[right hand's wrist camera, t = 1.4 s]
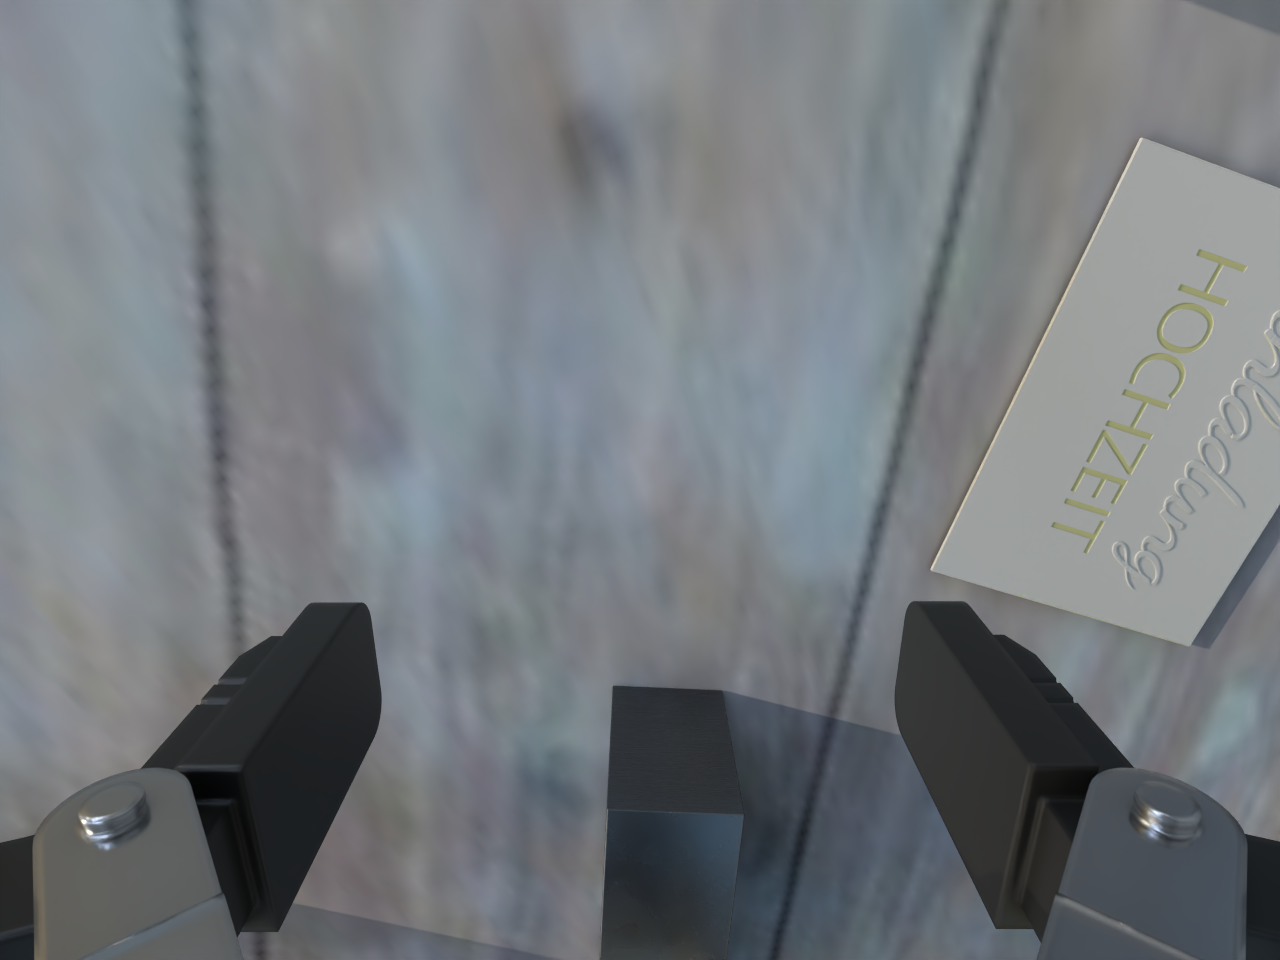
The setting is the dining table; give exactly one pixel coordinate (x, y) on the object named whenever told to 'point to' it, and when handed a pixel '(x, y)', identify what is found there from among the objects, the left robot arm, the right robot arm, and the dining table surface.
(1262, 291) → the invitation card
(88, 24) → the dining table surface
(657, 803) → the bar
